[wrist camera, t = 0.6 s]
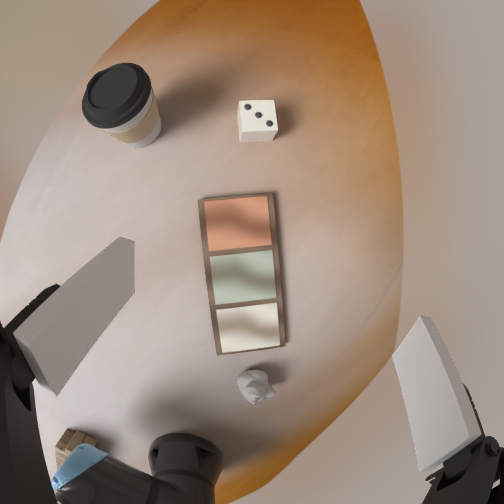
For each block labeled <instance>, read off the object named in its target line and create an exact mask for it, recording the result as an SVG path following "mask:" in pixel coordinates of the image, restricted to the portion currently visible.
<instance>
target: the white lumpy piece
mask: <svg viewBox="0 0 504 504" xmlns="http://www.w3.org/2000/svg"><path fill="white" fill-rule="evenodd" d="M237 385H238V388H239V390H240V392H241V394H242V395H243V396H244V397H245V398H246V399H247V400H248V401H249V402H250V403H252V404H254V405H256V404H259V403H260V402H262V401H263V400H264V398H265V397H268V398H272V397H273V396H274V395H275V390H274V389H273V388H272V386H271V385H270V384H269V383H268V376H267V374H266V373H265V372H263V371H260V370H247V371H245V372H243V373H241V374H240V375H239V377H238V378H237Z"/></svg>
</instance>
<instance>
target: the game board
mask: <svg viewBox="0 0 504 504" xmlns="http://www.w3.org/2000/svg"><path fill="white" fill-rule="evenodd" d="M198 207H199V218H200V228H201V238H202V247H203V257H204V265H205V274H206V282H207V290H208V297H209V305H210V312H211V319H212V326H213V333H214V339H215V346H216V352H217V355H224V354H233V353H241V352H249V351H257V350H264V349H271V348H277V347H283V346H285V330H284V316H283V303H282V290H281V277H280V265H279V254H278V243H277V232H276V222H275V211H274V201H273V193H265V194H252V195H241V196H230V197H219V198H210V199H201V200H198Z"/></svg>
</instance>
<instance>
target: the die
mask: <svg viewBox="0 0 504 504" xmlns="http://www.w3.org/2000/svg"><path fill="white" fill-rule="evenodd" d="M237 117H238V128H239V138H240V143H241V142H258V141H272V140H273V138H274V136H275V135H276V133H277V131H278V126H277V119H276V112H275V105H274V100H250V101H239V106H238V112H237Z"/></svg>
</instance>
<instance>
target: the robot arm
mask: <svg viewBox="0 0 504 504" xmlns="http://www.w3.org/2000/svg"><path fill="white" fill-rule="evenodd" d="M134 292H135V287H134V241H132V240H129V239H126V238H122V237H119V238H118V239H116V240H115V241H114V242H113V243H111V244H110V245H109V246H108V247H106V248H105V249H104V250H103V251H101V252H100V253H99V254H98V255H97V256H95V257H94V258H93V259H92V260H90V261H89V262H88V263H87V264H86V265H85V266H83V267H82V268H81V269H80V270H79V271H77V272H76V273H75V274H74V275H73V276H72V277H71V278H69V279H68V280H67V281H66V282H65V283H64V284H63V285H62V286H60V285H58V284H55V285H53V286H51V287H48V288H46V289H44V290H43V291H42V292H41V293H40V294H39V295H38V296H37V297H36V299H33V300H32V301H31V302H30V303H29V305H27V306H26V307H25V308H24V309H23V310H22V311H21V312H20V313H19V314H18V315H17V316H16V317H15V318H14V319H13V320H12V321H11V322H10V323H9V324H8V325H7V326H6V327H5V328H3V327H2V324H1V322H0V504H215V494H214V486H215V484H216V482H217V480H218V478H219V475H220V473H221V471H222V467H223V463H222V455H221V453H220V451H219V450H218V449H217V448H216V447H215V446H214V445H213V444H212V443H210V442H208V441H206V440H204V439H202V438H199V437H196V436H192V435H187V434H169V435H164V436H161V437H159V438H157V439H156V440H155V441H154V442H153V443H152V444H151V447H150V450H149V455H148V458H149V463H150V468H151V472H152V476H151V475H149V474H146V473H144V472H142V471H140V470H138V469H135V468H133V467H131V466H129V465H127V464H125V463H123V462H121V461H119V460H117V459H115V458H113V457H112V456H110V455H109V453H105V452H103V451H101V450H99V449H97V448H95V447H93V446H92V445H90V444H80V445H78V446H77V447H76V448H75V449H74V450H73V451H72V452H71V454H70V455H69V456H68V457H67V458H66V460H65V461H64V462H63V464H62V465H61V466H60V468H59V469H58V470H57V472H56V474H55V476H54V477H53V479H52V480H51V481H50V477H49V474H48V470H47V466H46V462H45V458H44V454H43V449H42V445H41V440H40V434H39V428H38V422H37V415H36V407H35V398H34V388H33V384H32V382H33V380H34V379H35V378H36V379H37V381H38V383H39V384H40V386H41V387H42V388H43V389H45V390H46V391H48V392H49V393H51V394H52V395H54V396H55V397H57V396H58V394H59V393H60V391H61V390H62V388H63V387H64V386H65V384H66V383H67V381H68V380H69V378H70V377H71V375H72V374H73V373H74V371H75V370H76V368H77V367H78V365H79V364H80V363H81V361H82V360H83V359H84V357H85V356H86V354H87V353H88V352H89V350H90V349H91V348H92V346H93V345H94V344H95V342H96V341H97V340H98V338H99V337H100V336H101V334H102V333H103V332H104V330H105V329H106V328H107V326H108V325H109V324H110V323H111V321H112V320H113V319H114V317H115V316H116V315H117V314H118V312H119V311H120V310H121V309H122V307H123V306H124V305H125V304H126V302H127V301H128V300H129V299H130V297H131V296H132V295H133V294H134ZM392 359H393V361H394V365H395V368H396V372H397V375H398V379H399V382H400V386H401V390H402V393H403V397H404V401H405V405H406V409H407V414H408V417H409V422H410V427H411V432H412V436H413V441H414V446H415V452H416V457H417V463H418V470H419V472H420V471H426V470H430V469H433V468H435V467H437V466H438V465H440V464H441V463H443V466H444V467H443V468H442V469H440V470H438V471H436V472H435V473H433V474H431V475H430V476H428V477H427V478H426V481H428V480H430V479H431V478H433V477H435V479H433V480H431V481H430V484H432V486H431V488H430V490H429V492H428V493H427V496H426V497H425V499H424V501H423V503H422V504H504V448H502V447H499V444H498V442H497V441H496V440H495V438H493V437H491V436H487V437H485V434H484V432H483V428H482V425H481V423H480V420H479V417H478V414H477V411H476V409H474V407H475V406H474V404H473V401H471V400H472V398H471V396H470V393H469V391H468V389H467V388H466V386H465V385H464V384H463V383H462V380H461V378H460V376H459V373H458V371H457V369H456V367H455V365H454V362H453V360H452V358H451V356H450V354H449V352H448V350H447V348H446V346H445V344H444V342H443V340H442V338H441V336H440V334H439V332H438V330H437V328H436V326H435V324H434V323H433V321H432V319H431V318H429V317H425V316H419V317H418V319H417V320H416V322H415V323H414V325H413V326H412V328H411V329H410V331H409V333H408V334H407V336H406V337H405V338H404V340H403V341H402V343H401V344H400V346H399V347H398V348H397V350H396V351H395V353H394V354H393V355H392ZM499 479H500V484H499V485H498V486H496V487H495V488H493V489H492V486H493V483H494V482H496V481H497V480H499ZM53 489H55V490H57V493H56V495H55V494H54V490H53Z"/></svg>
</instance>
